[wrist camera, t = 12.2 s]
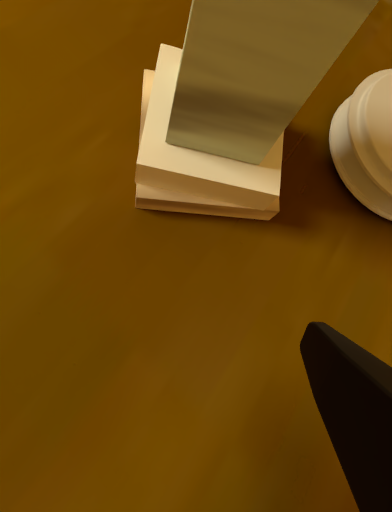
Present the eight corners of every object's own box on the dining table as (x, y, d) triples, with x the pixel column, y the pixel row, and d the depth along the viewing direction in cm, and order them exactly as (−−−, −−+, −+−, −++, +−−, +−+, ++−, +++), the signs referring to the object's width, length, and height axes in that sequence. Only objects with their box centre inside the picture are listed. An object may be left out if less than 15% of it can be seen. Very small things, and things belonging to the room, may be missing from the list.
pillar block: (258, 165, 21) (386, -11, 11) (165, 142, 20) (208, -73, 10) (265, 88, 23) (381, -124, 13) (179, 64, 22) (229, -187, 12)
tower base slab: (265, 223, 26) (279, 211, 24) (134, 211, 24) (136, 197, 22) (260, 112, 29) (273, 91, 27) (142, 93, 27) (144, 69, 25)
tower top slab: (263, 210, 24) (279, 196, 21) (134, 182, 22) (136, 163, 20) (272, 103, 26) (287, 79, 24) (157, 72, 25) (160, 43, 22)
